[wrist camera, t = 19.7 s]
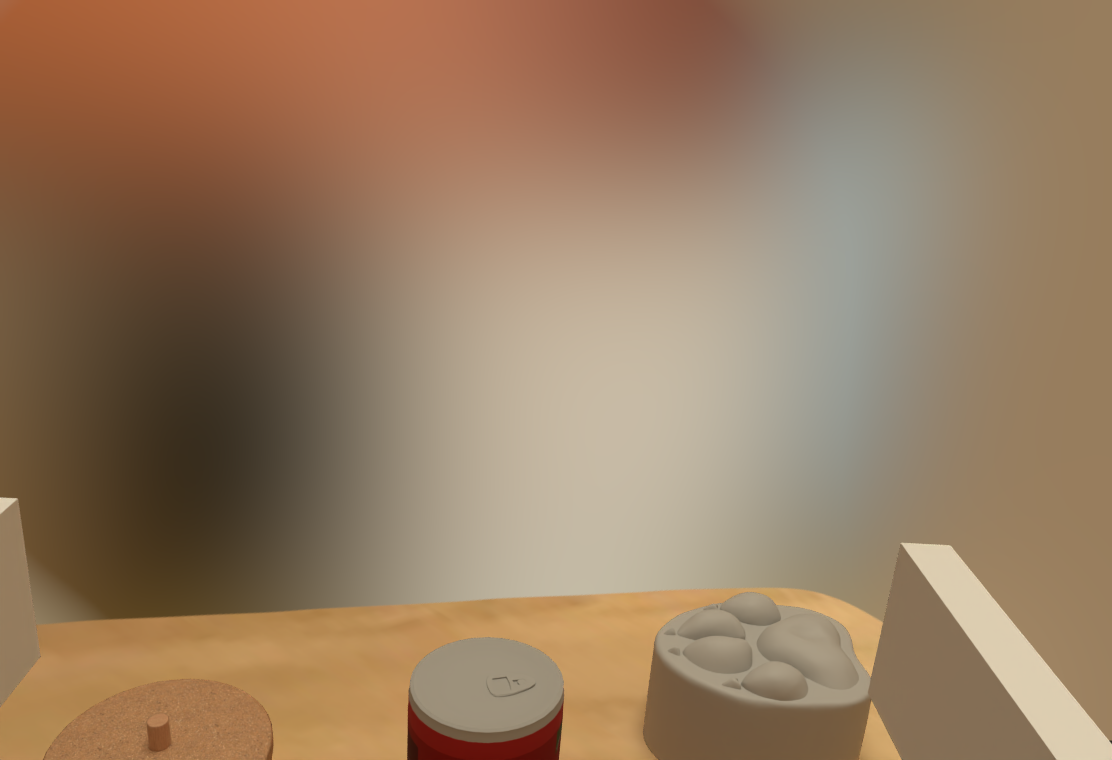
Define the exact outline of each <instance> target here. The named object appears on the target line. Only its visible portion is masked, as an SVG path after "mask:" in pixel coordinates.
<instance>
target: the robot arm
mask: <svg viewBox="0 0 1112 760" xmlns="http://www.w3.org/2000/svg"><path fill="white" fill-rule="evenodd" d="M39 658H40V650H39V643H38V636H37V629H36V623H35V615H34V609H33V601H32V594H31V587H30V580H29V574H28V566H27V559H26V552H25V546H24V538H23V531H22V525H21V518H20V511H19V504H18V499H15V498H0V707H1V705H2V704H3V703H4V702H5V700H6V699H7V698H8V697H9V695H10V694H11V693H12V692H13V690H14V689H15V688H16V687H17V685H18V684H19V683H20V682H21V680H22V679H23V678H24V677H25V675H26V674H27V673H28V672H29V670H30V669H31V668H32V667H33V665H34V664H35V663H36V662H37V660H38V659H39ZM868 694H869V696H870V698H871V700H872V702H873V704H874V706H875V708H876V709H877V711H878V713H879V715H880V717H881V719H882V721H883V723H884V725H885V727H886V729H887V731H888V733H889V735H890V737H891V739H892V741H893V743H894V745H895V747H896V749H897V751H898V753H899V755H900V757H901V759H902V760H1112V741H1109V740H1108V739H1107V738H1106V737H1105V735H1104V734H1103V733H1102V732H1101V730H1100V729H1099V728H1098V727H1097V726H1096V724H1095V723H1094V722H1093V721H1092V719H1091V718H1090V717H1089V716H1088V714H1087V713H1086V712H1085V711H1084V709H1083V708H1082V707H1081V706H1080V705H1079V703H1078V702H1077V701H1076V700H1075V698H1074V697H1073V696H1072V695H1071V693H1070V692H1069V691H1068V690H1067V689H1066V687H1065V686H1064V685H1063V684H1062V683H1061V681H1060V680H1059V679H1058V677H1057V676H1056V675H1055V674H1054V673H1053V671H1052V670H1051V669H1050V668H1049V666H1048V665H1047V664H1046V663H1045V661H1044V660H1043V659H1042V658H1041V657H1040V655H1039V654H1038V653H1037V652H1036V651H1035V649H1034V648H1033V647H1032V646H1031V644H1030V643H1029V642H1028V641H1027V639H1026V638H1025V637H1024V636H1023V634H1022V633H1021V632H1020V631H1019V630H1018V628H1017V627H1016V626H1015V625H1014V623H1013V622H1012V621H1011V620H1010V618H1009V617H1008V616H1007V615H1006V613H1005V612H1004V611H1003V610H1002V609H1001V607H1000V606H999V605H998V604H997V602H996V601H995V600H994V599H993V597H992V596H991V595H990V594H989V593H988V591H987V590H986V589H985V588H984V586H983V585H982V584H981V583H980V581H979V580H978V579H977V578H976V577H975V575H974V574H973V573H972V572H971V570H970V569H969V568H968V567H967V565H966V564H965V563H964V562H963V561H962V559H961V558H960V557H959V556H958V555H957V553H956V552H955V551H954V549H953V548H952V547H951V546H950V545H932V544H931V545H930V544H912V543H901V544H900V549H899V553H898V558H897V562H896V567H895V571H894V576H893V581H892V585H891V590H890V594H889V599H888V604H887V608H886V612H885V617H884V621H883V626H882V630H881V635H880V640H879V644H878V649H877V653H876V658H875V662H874V667H873V671H872V676H871V680H870V685H869V689H868Z"/></svg>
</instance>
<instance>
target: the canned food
mask: <svg viewBox="0 0 1112 760" xmlns="http://www.w3.org/2000/svg"><path fill="white" fill-rule="evenodd" d="M563 685H564V681H563V678H562V674H561V672H560V670H559V668H558V667H557V665H556V664H555V663H554V662H553V661H552V660H551V659H550V658H549V657H548V656H547V655H546V654H544V653H543V652H541V651H540V650H538V649H536V648H534V647H532V646H530V645H527V644H524V643H521V642H518V641H514V640H509V639H503V638H490V637H485V638H471V639H465V640H459V641H456V642H453V643H449V644H446V645H444V646H442V647H440V648H438V649H436V650H434V651H433V652H431V653H430V654H428V655H426V656H425V657H424V658H423V659H422V660H421V661H420V662H419V663H418V665H417V666H416V668H415V669H414V671H413V673H412V677H411V680H410V688H409V703H408V748H407V760H559V751H560V741H561V730H562V719H563V702H564V688H563Z"/></svg>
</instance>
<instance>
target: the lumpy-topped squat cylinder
mask: <svg viewBox="0 0 1112 760" xmlns="http://www.w3.org/2000/svg"><path fill="white" fill-rule="evenodd" d="M870 680H871V678H870V676H869V674H868V672H867V671H866V670H865V669H864V667H863V666H862V665H861V663H860V662H859V660H858V659H857V657H856V655H855V653H854V650H853V644H852V640H851V637H850V635H849V633H848V631H847V630H846V628H845V627H844V626H843V625H842V624H840V623H839V622H837V621H836V620H834V619H832V618H830V617H828V616H825V615H823V614H821V613H818V612H815V611H812V610H808V609H804V608H799V607H791V606H780V605H776V604H775V603H774V602H773V601H772V600H771V599H770V598H769V597H767V596H766V595H763V594H760V593H754V592H745V593H741V594H738V595H736V596H734V597H732V598H730V599H728V600H727V601H725V602H724V603H719V604H711V605H709V606H705V607H701V608H698V609H694V610H691V611H688V612H685V613H682V614H680V615H678V616H676V617H675V618H673V619H672V620H670V621H669V622H668V623H667V624H666V625H664V626H663V627H662V628H661V629H660V631H659V632H658V634H657V636H656V638H655V642H654V651H653V658H652V665H651V673H650V680H649V688H648V696H647V704H646V712H645V720H644V728H643V735H644V740H645V742H646V745H647V746H648V748H649V749H650V751H651V752H652V753H653V754H654V755H655V757H656V758H657V759H659V760H859V755H860V751H861V746H862V742H863V737H864V733H865V728H866V724H867V719H868V714H869V708H870V703H871V698H870V696H869V694H868V689H869V685H870Z"/></svg>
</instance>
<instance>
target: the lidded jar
mask: <svg viewBox="0 0 1112 760" xmlns="http://www.w3.org/2000/svg"><path fill="white" fill-rule="evenodd" d="M272 753H273V732H272V724H271V721H270V718H269V716H268V714H267V712H266V711H265V709H264V708H263V706H262V705H261V704H260V703H259V702H258V701H257V700H255V699H254V698H253V697H252V696H250V695H249V694H247V693H246V692H244V691H243V690H240V689H238V688H236V687H233V686H231V685H227V684H224V683H220V682H216V681H209V680H199V679H180V680H169V681H162V682H155V683H151V684H147V685H143V686H139V687H136V688H133V689H130V690H127V691H124V692H121V693H119V694H117V695H114V696H112V697H110V698H108V699H106V700H104V701H102V702H100V703H98V704H96V705H94V706H93V707H91V708H90V709H88V710H87V711H85V712H84V713H82V714H81V715H80V716H78V717H77V718H76V719H75V720H73V721H72V722H71V723H70V724H69V725H67V726H66V727H65V729H64V730H63V731H62V732H61V733H60V734H59V735H58V736H57V738H56V739H55V740H54V742H53V743H52V745H51V746H50V747H49V749H48V750H47V752H46V754H45V756H44V759H43V760H272Z"/></svg>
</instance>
